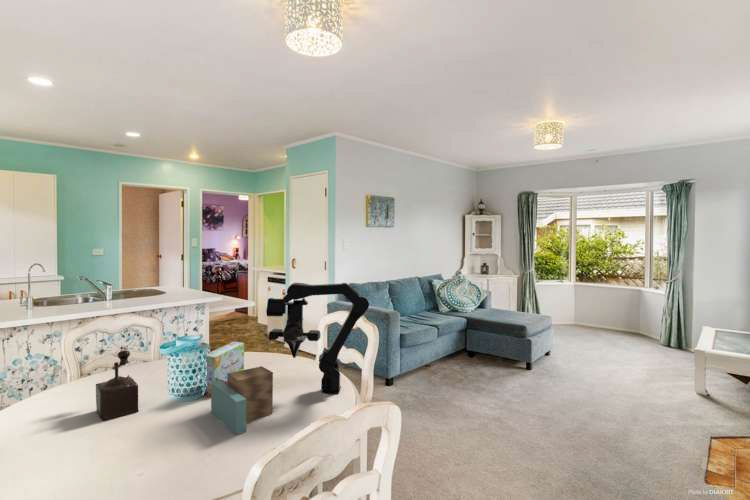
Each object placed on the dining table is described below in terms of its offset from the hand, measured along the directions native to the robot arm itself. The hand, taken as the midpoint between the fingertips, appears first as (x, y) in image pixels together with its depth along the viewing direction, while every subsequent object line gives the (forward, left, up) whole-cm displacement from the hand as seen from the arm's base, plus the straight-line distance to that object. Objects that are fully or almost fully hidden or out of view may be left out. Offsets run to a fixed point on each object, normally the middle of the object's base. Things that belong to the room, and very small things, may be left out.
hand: (294, 357), depth 155 cm
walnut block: (+9, +21, -13) cm, 27 cm away
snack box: (+28, -2, -13) cm, 31 cm away
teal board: (+15, +27, -13) cm, 33 cm away
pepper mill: (+55, +21, -13) cm, 60 cm away
